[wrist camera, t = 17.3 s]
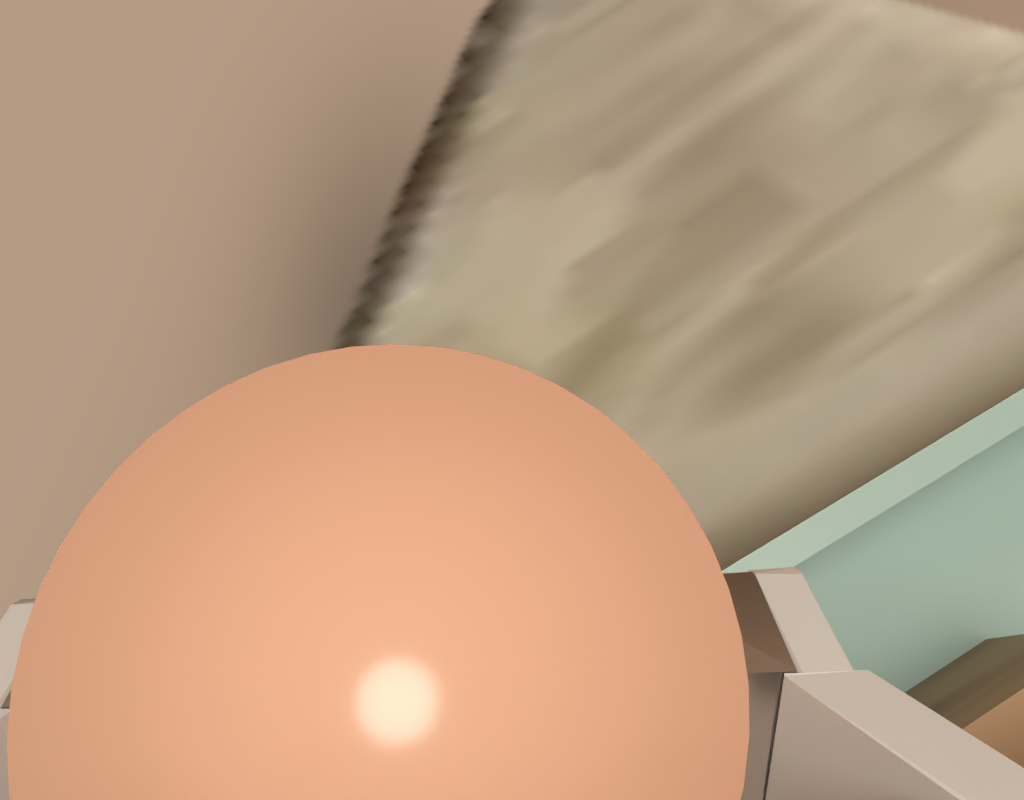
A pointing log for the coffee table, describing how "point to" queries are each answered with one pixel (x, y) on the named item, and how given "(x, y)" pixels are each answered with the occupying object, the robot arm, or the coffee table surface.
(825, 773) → the robot arm
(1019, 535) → the tray
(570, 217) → the coffee table surface
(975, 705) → the walnut block
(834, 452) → the coffee table surface
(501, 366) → the peach rounded cylinder
